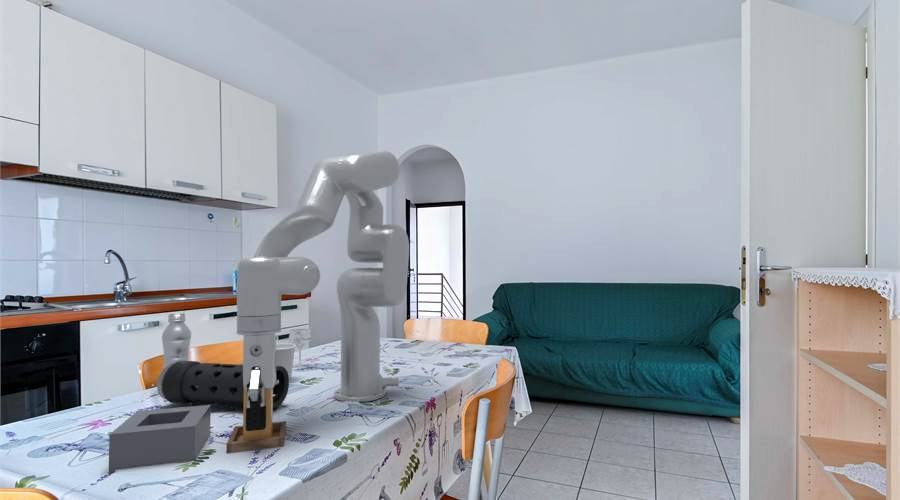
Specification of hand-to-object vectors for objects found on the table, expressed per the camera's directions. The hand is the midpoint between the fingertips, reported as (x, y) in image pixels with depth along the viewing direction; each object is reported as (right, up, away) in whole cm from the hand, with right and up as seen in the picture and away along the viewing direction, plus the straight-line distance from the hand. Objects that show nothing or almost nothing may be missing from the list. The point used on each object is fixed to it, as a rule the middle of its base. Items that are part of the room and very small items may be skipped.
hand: (258, 421), depth 83 cm
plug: (0, -3, 0) cm, 3 cm away
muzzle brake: (-17, -5, +21) cm, 27 cm away
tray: (0, -4, 0) cm, 4 cm away
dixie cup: (-13, -6, +44) cm, 46 cm away
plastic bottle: (-36, -5, +34) cm, 49 cm away
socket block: (-14, -4, -5) cm, 15 cm away
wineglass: (-13, -6, +61) cm, 62 cm away
